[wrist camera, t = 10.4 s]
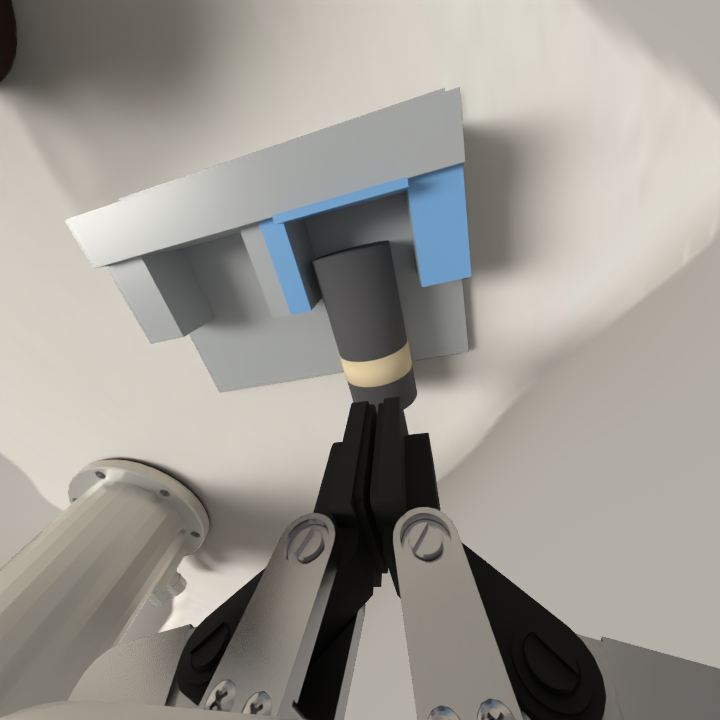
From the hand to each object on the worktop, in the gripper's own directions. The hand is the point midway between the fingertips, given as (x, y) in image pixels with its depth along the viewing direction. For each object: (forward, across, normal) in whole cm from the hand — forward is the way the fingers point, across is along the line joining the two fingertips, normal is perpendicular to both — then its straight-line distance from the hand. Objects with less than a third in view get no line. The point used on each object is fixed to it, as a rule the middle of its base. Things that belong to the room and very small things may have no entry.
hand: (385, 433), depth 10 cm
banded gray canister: (+8, 0, -2) cm, 8 cm away
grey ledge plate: (+8, +4, -5) cm, 10 cm away
